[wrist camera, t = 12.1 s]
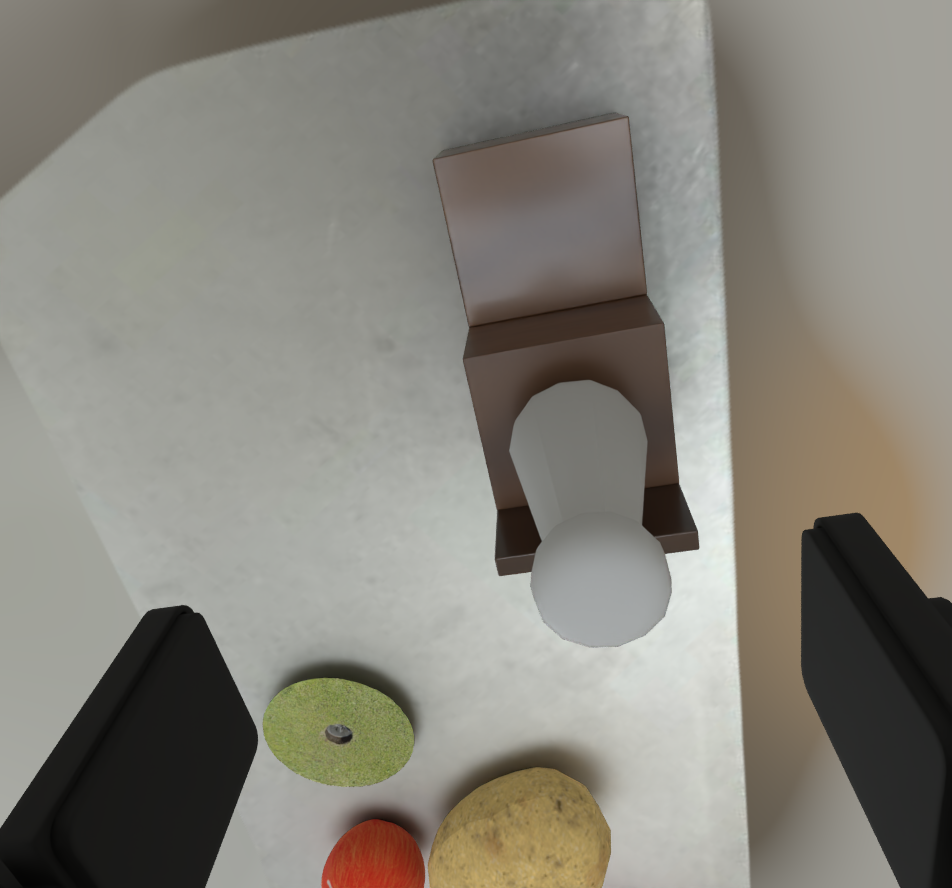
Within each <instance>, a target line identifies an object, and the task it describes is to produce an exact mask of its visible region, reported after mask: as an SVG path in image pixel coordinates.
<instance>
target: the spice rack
mask: <svg viewBox="0 0 952 888" xmlns="http://www.w3.org/2000/svg"><path fill="white" fill-rule="evenodd" d="M433 165H434V169H435V174H436V178H437V183H438V187H439V192H440V197H441V201H442V206H443V210H444V215H445V220H446V224H447V229H448V233H449V238H450V242H451V247H452V252H453V256H454V261H455V265H456V270H457V275H458V279H459V284H460V288H461V293H462V297H463V302H464V307H465V311H466V316H467V320H468V325H469V332H468V337H467V341H466V346H465V351H464V356H463V362H464V367H465V371H466V376H467V380H468V384H469V389H470V393H471V398H472V402H473V407H474V411H475V415H476V420H477V424H478V429H479V433H480V437H481V442H482V446H483V451H484V455H485V459H486V464H487V468H488V473H489V477H490V482H491V486H492V490H493V495H494V499H495V504H496V508H497V525H496V544H495V563H496V567H497V571H498V575H499V576H505V575H512V574H519V573H527V572H532V568H533V563H534V558H535V553H536V549H537V548H538V546H539V545H540V544H541V542H542V540H541V538H540V535H539V532H538V529H537V527H536V524H535V521H534V518H533V515H532V513H531V510H530V507H529V504H528V502H527V499H526V496H525V493H524V491H523V488H522V485H521V482H520V479H519V477H518V474H517V471H516V468H515V466H514V463H513V460H512V457H511V455H510V452H509V449H510V444H511V438H512V432H513V427H514V423H515V420H516V419H517V417H518V416H519V414H520V413H521V412H522V410H523V409H524V407H525V406H526V405H527V403H528V402H529V400H530V399H531V397H532V396H534V395H536V394H538V393H540V392H542V391H544V390H546V389H548V388H550V387H552V386H554V385H556V384H558V383H562V382H572V381H582V380H592V381H594V382H597V383H599V384H602V385H605V386H607V387H610V388H612V389H615V390H618V391H619V392H620V393H621V394H622V395H623V396H624V397H625V398H626V399H627V400H628V401H629V402H630V404H631V405H632V406H633V407H634V408H635V409H636V410H637V411H638V412H639V413H640V414H641V417H642V421H643V425H644V429H645V433H646V437H647V456H646V471H645V486H644V501H643V516H642V526H643V527H644V528H645V529H646V530H647V531H648V532H649V533H650V534H651V535H653V536H654V537H655V538H656V539H657V540H658V541H659V542H660V544H661V546H662V548H663V551H664V553H665V554H668V553H675V552H683V551H690V550H698V549H699V539H698V530H697V528H696V525H695V523H694V520H693V518H692V515H691V513H690V510H689V507H688V505H687V502H686V500H685V497H684V495H683V492H682V490H681V487H680V485H679V475H678V465H677V454H676V444H675V433H674V423H673V412H672V402H671V391H670V381H669V370H668V360H667V349H666V339H665V328H664V323H663V321H662V319H661V318H660V316H659V314H658V313H657V311H656V309H655V308H654V306H653V304H652V302H651V301H650V299H649V297H648V296H647V288H646V278H645V268H644V259H643V249H642V240H641V230H640V220H639V211H638V201H637V191H636V182H635V172H634V163H633V153H632V143H631V134H630V124H629V117H628V116H625V115H622V114H619V113H610V114H606V115H601V116H597V117H592V118H588V119H583V120H578V121H574V122H569V123H565V124H560V125H556V126H551V127H547V128H542V129H538V130H533V131H529V132H524V133H519V134H515V135H510V136H506V137H501V138H497V139H492V140H488V141H483V142H479V143H474V144H470V145H465V146H461V147H456V148H451V149H447V150H443V151H442V152H441V153H439V154H438V155H437V156H436V157H435V158H434V159H433Z"/></svg>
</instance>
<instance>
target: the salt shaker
mask: <svg viewBox="0 0 952 888" xmlns="http://www.w3.org/2000/svg"><path fill="white" fill-rule="evenodd" d="M509 452H510V455H511V457H512V460H513V463H514V466H515V468H516V471H517V474H518V477H519V479H520V482H521V485H522V488H523V491H524V493H525V496H526V499H527V502H528V504H529V507H530V510H531V513H532V515H533V518H534V521H535V524H536V527H537V529H538V532H539V535H540V538H541V540H542V542H541V544H540V545H539V546H538V548H537V549H536V553H535V558H534V563H533V568H532V573H531V584H530V587H531V590H532V593H533V597H534V600H535V602H536V605H537V607H538V610H539V612H540V615H541V617H542V620H543V622H544V623H545V624H546V625H547V626H548V627H550V628H551V629H552V630H553V631H554V632H555V633H556V634H557V635H559V636H560V637H561V638H562V639H564V640H567V641H571V642H574V643H577V644H580V645H584V646H587V647H592V648H594V647H618V646H621V645H623V644H626V643H628V642H630V641H633V640H635V639H638V638H640V637H642V636H645V635H646V634H647V633H648V632H649V631H650V630H651V629H652V628H653V627H654V626H655V625H656V624H657V623H658V622H659V621H660V620H661V619H662V618H664V617H665V614H666V610H667V607H668V603H669V600H670V596H671V593H672V588H671V576H670V572H669V568H668V564H667V560H666V557H665V553H664V551H663V548H662V546H661V544H660V542H659V541H658V540H657V539H656V538H655V537H654V536H653V535H651V534H650V533H649V532H648V531H647V530H646V529H645V528H644V527H643V526H642V516H643V501H644V486H645V471H646V456H647V437H646V433H645V429H644V425H643V421H642V417H641V414H640V413H639V412H638V411H637V410H636V409H635V408H634V407H633V406H632V405H631V404H630V402H629V401H628V400H627V399H626V398H625V397H624V396H623V395H622V394H621V393H620V392H619V391H618V390H615V389H612V388H610V387H607V386H605V385H602V384H599V383H597V382H594V381H592V380H582V381H572V382H562V383H558V384H556V385H554V386H552V387H550V388H548V389H546V390H544V391H542V392H540V393H538V394H536V395H534V396H532V397H531V399H530V400H529V402H528V403H527V405H526V406H525V407H524V409H523V410H522V412H521V413H520V414H519V416H518V417H517V419H516V420H515V423H514V427H513V432H512V438H511V444H510V449H509Z"/></svg>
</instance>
